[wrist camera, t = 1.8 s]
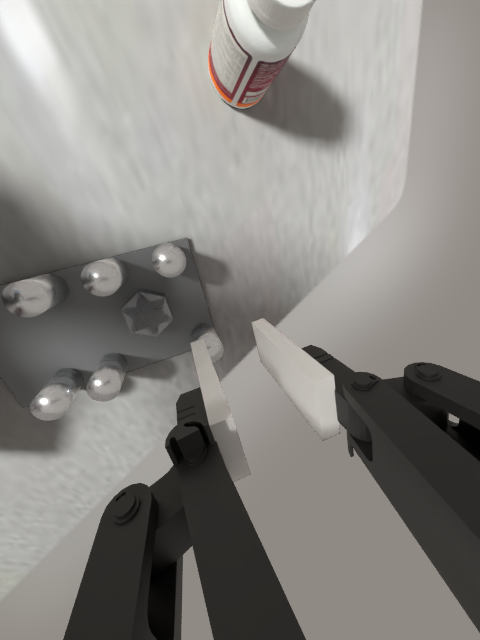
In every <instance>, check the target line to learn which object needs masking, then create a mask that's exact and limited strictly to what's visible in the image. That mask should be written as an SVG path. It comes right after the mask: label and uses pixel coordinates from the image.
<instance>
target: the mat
mask: <svg viewBox="0 0 480 640" xmlns="http://www.w3.org/2000/svg"><path fill="white" fill-rule="evenodd" d="M168 243H171V244H174V245H176V246H178V247H179V248H180V249H181V250H182V251H183V252H184V254H185V257H186V267H185V269H184V271H183V272H182V273H181V274H180V275H178V276H176V277H171V278H170V277H164V276H162V275H160V274H159V273H158V272H157V271H156V270H155V269H154V267H153V264H152V255H153V252H154V251H155V249H156V248H157V247H159V246H160V245H162V244H160V245H156V246H152V247H148V248H144V249H140V250H137V251H133V252H129V253H125V254H121V255H117V256H113V257H109V258H116V259H118V260H120V261H122V262H123V263H124V264H125V265H126V267H127V269H128V278H127V280H126V282H125V283H124V284H123V285H122V286H121V287H120V288H119V289H118V290H117V291H116V292H115V293H113V294H111V295H109V296H96V295H94V294H92V293H90V292H89V291H87V290H86V289H85V287H84V286H83V284H82V281H81V273H82V270H83V269H84V267H85V266H86V265H88V264H90V263H92V262H90V263H86V264H82V265H78V266H74V267H70V268H66V269H62V270H58V271H54V272H51V273H47V274H54V275H57V276H59V277H61V278H62V279H63V280H64V281H65V282H66V283H67V285H68V288H69V294H68V296H67V298H66V299H65V300H64V301H62V302H60V303H59V304H57V305H55V306H53V307H52V308H50V309H48V310H47V311H45V312H43V313H41V314H40V315H38V316H35V317H21V316H17V315H15V314H13V313H12V312H10V311H9V310H8V309H7V308H6V307H5V305H4V304H3V301H2V293H3V290H4V289H5V287H7V286H8V285H9V284H11V283H14V282H11V283H8V284H4V285H0V377H1V379H2V380H3V381H4V383H5V384H6V385H7V387H8V388H9V390H10V391H11V392H12V394H13V395H14V396H15V398H16V399H17V400H18V402H19V403H20V405H21V406H22V407H23V408H25V407H27V406H30V404H31V402H32V400H33V399H34V398H35V397H36V396H37V394H38V393H39V392H40V391H41V390H42V388H43V387H44V386H45V385H46V384H47V382H48V381H49V380H50V379H51V378H52V376H53V375H54V374H55V373H56V372H57V371H58V370H60V369H63V368H73V369H76V370H78V371H79V372H80V373H81V374H82V375H83V378H84V382H83V384H82V386H81V388H83V387H86V386H87V383H88V382H89V380H90V378H91V376H92V374H93V373H94V371H95V369H96V367H97V365H98V363H99V362H100V360H101V358H102V357H103V356H105V355H106V354H109V353H118V354H121V355H123V356H124V357H125V358H126V360H127V363H128V366H127V370H126V372H129V371H132V370H135V369H138V368H141V367H144V366H147V365H149V364H152V363H155V362H158V361H161V360H164V359H167V358H170V357H173V356H176V355H178V354H181V353H184V352H187V351H190V350H192V348H191V344H190V343H192V342H193V340H192V336H191V334H192V330H193V329H194V327H195V326H197V325H198V324H201V323H207V324H210V325H211V326H212V327H213V328H214V326H213V323H212V319H211V316H210V313H209V310H208V306H207V303H206V300H205V296H204V293H203V290H202V286H201V283H200V280H199V276H198V273H197V270H196V266H195V263H194V260H193V257H192V253H191V250H190V247H189V243H188V240H187V238H183V239H180V240H176V241H172V242H168ZM105 259H106V258H105ZM101 260H102V259H101ZM97 261H99V260H97ZM94 262H96V261H94ZM35 277H36V276H35ZM31 278H32V277H31ZM27 279H29V278H27ZM23 280H25V279H23ZM19 281H21V280H19ZM15 282H18V281H15ZM140 288H142V289H147V290H152V291H156V292H161V293H165V295H166V297H167V300H168V303H169V305H170V308H171V311H172V314H173V320H172V321H171V322H170V323H169V325H168V326H167V327H166V328H165V329H164V330H163V331H162V332H161V333H160V334H159V335H158V336H157V337H155V336H148V335H142V334H135V333H131V332H130V329H129V327H128V325H127V323H126V321H125V318H124V316H123V314H122V312H121V309H122V308H123V306H124V305H125V304H126V303H127V302H128V301H129V300H130V299H131V297H132V296H133V295H134V294H135V293H136V292H137V291H138V290H139V289H140ZM214 330H215V329H214Z"/></svg>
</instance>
